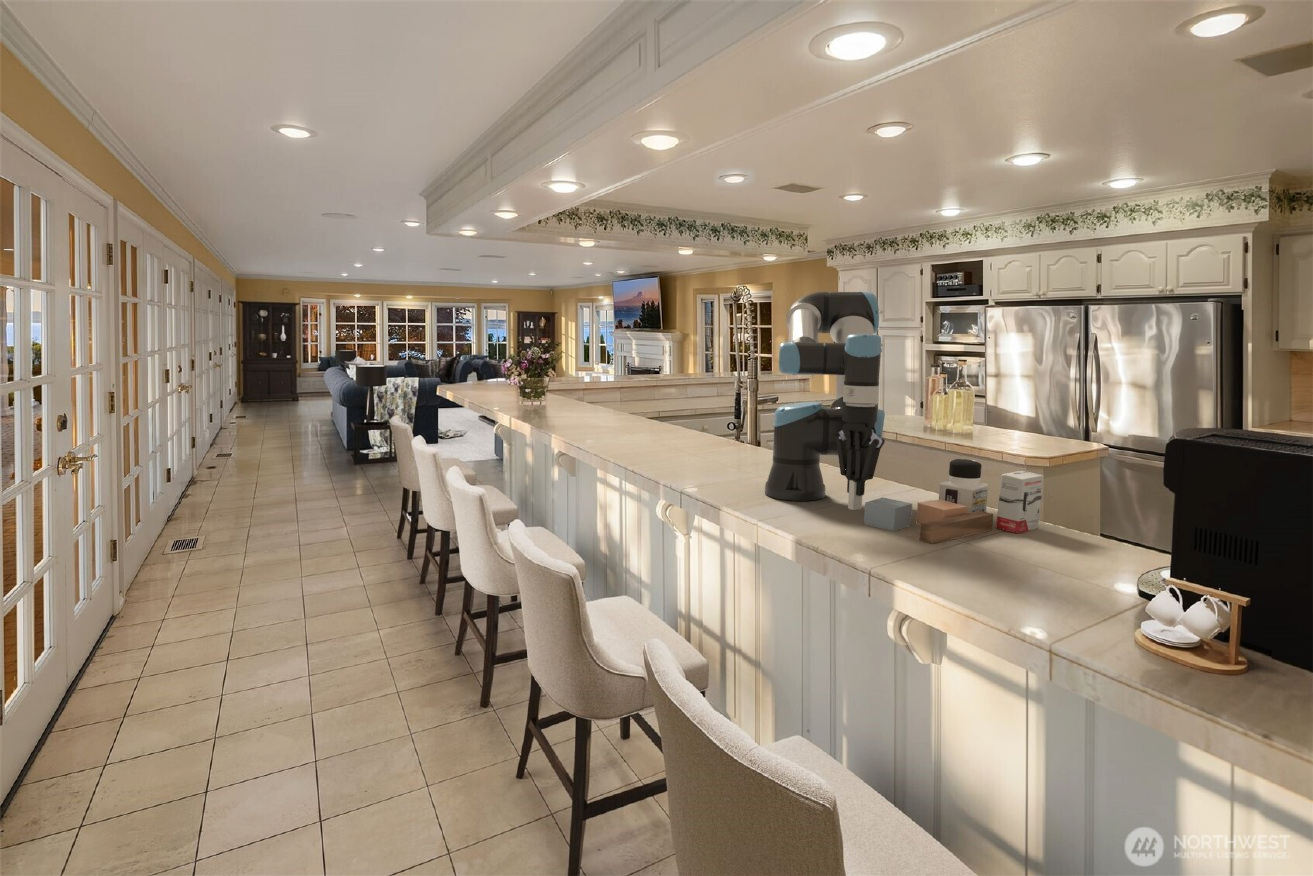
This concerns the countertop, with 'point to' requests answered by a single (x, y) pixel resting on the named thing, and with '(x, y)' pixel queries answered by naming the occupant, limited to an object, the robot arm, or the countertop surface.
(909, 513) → the slate block
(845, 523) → the countertop surface
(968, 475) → the container
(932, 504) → the terracotta block
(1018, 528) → the ink box
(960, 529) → the walnut board
